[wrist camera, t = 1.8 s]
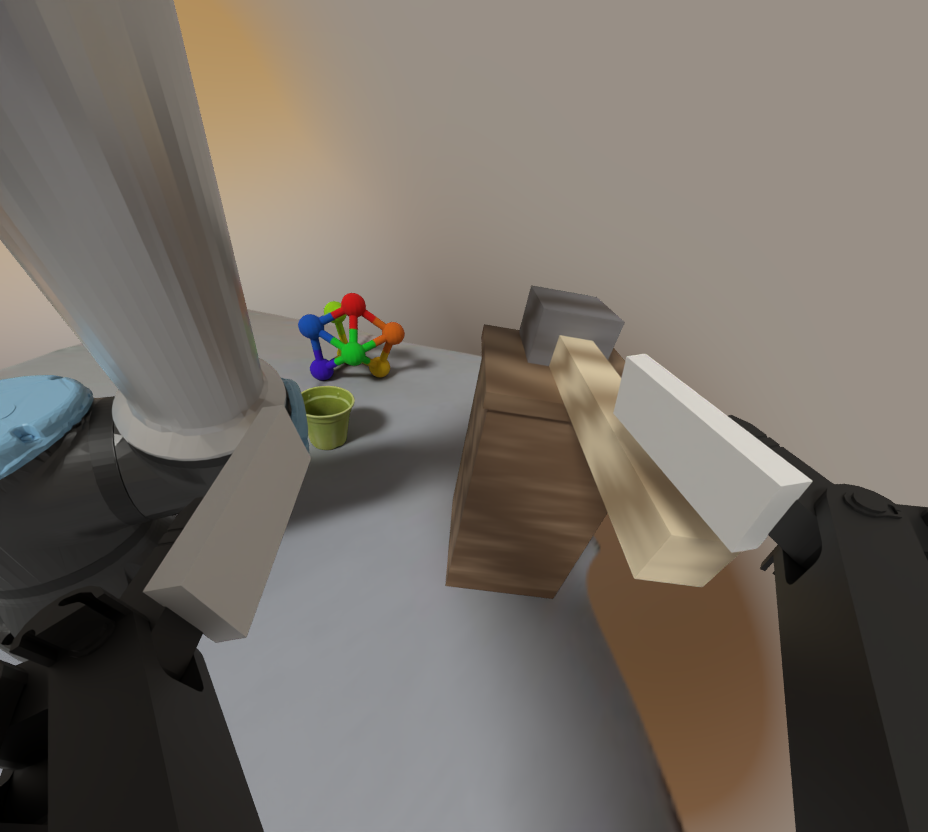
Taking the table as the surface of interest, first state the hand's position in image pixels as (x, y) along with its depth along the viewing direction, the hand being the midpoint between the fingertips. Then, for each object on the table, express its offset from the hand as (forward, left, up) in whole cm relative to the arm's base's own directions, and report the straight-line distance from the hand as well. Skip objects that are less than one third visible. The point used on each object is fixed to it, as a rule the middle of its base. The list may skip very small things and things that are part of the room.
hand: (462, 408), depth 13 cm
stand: (-11, +17, -34) cm, 39 cm away
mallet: (-5, +14, -5) cm, 15 cm away
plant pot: (-41, -1, -34) cm, 53 cm away
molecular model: (-63, +8, -34) cm, 72 cm away
